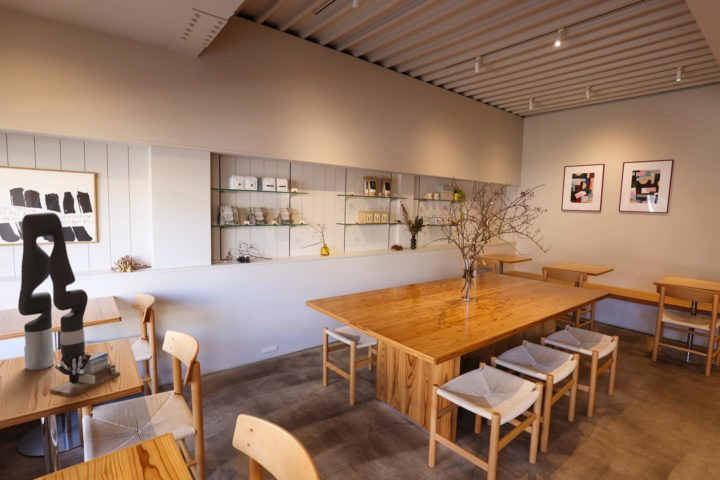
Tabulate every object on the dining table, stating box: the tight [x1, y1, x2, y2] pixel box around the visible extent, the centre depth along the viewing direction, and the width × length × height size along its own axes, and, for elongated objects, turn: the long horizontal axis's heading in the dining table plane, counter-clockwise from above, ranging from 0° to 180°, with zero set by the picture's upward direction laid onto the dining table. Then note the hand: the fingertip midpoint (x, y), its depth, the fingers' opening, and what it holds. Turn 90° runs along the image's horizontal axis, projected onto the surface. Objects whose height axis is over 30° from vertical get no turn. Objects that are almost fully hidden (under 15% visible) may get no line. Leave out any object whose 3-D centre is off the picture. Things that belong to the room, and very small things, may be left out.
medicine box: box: [83, 351, 109, 375], centre depth 157 cm, size 8×4×9 cm, turn 166°
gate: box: [78, 370, 95, 384], centre depth 151 cm, size 11×2×4 cm, turn 75°
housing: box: [49, 363, 121, 398], centre depth 153 cm, size 12×20×4 cm, turn 165°
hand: (74, 382), depth 148 cm, fingers closed
